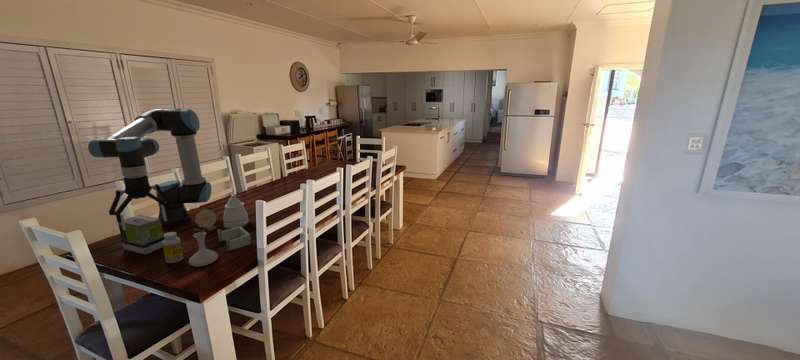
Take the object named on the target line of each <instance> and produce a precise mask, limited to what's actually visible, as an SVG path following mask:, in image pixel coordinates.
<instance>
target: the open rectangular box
mask: <svg viewBox="0 0 800 360" xmlns="http://www.w3.org/2000/svg"><path fill="white" fill-rule="evenodd" d="M217 235H218V236H217V237H218V241H219V242H224V241H225V245H226V250H227V252H229V251H232V250H237V249H239V248H240V249H241V248H243V247H246V246H250V245H252V235H251V234H250V233H249V232H248V231H246V230H245V229H244V228H243V226H242V227H241V226H240V227H236V228H227V229H223V230H222V229H220V228H219V229H218V228H217Z"/></svg>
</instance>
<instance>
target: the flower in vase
mask: <svg viewBox="0 0 800 360" xmlns="http://www.w3.org/2000/svg"><path fill="white" fill-rule="evenodd" d="M217 218H218V217H217V214H215V212H214V211H213V210H211V209H203V210H200V211H199V212H198V213H196V215H195V221H194V222H195V223H196V225H198V227H201V228H203V229H202V230H201V229H198V231H199V232H195V233H194V234H192V236H193V237H194V238H195V239H196V241H197V245H198V250H197V251H196V252H195V253H194V254H193V255H192V256H190V258H189V261H188V264H189V266H192V267H204V266H207V265H211V264H212V263H214V262H216V261H217V260H218V258H219V254H218V253H217V252H216V251H214V250H212V249H208V248H207V247H206V244H205V237H206V236H207V232H205V229H206V230H207V231H213V230H214V229H216V228H217V226H215V225H214V224H216V220H217ZM192 230H194V231H197V229H195V228H192Z"/></svg>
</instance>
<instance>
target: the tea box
mask: <svg viewBox="0 0 800 360" xmlns="http://www.w3.org/2000/svg"><path fill="white" fill-rule="evenodd" d="M123 219H124V218H123ZM124 223H125V227H126V230H123V227H122V223H118V222H117V224H118V229H119V233H120V239H121V242H122V246H123V250H126V251H129V252H133V253H138V254H142V255H148V254H150V253H152V252H155V251H157V250H160V249H161V248H163V245H162V242H163V240H165V238H164V231H163V225H161V220H160V219H159V218H158V217H153V216H149V215H143V214H138V215H135V216H131V217H128V218H125V219H124Z"/></svg>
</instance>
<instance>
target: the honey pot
mask: <svg viewBox="0 0 800 360" xmlns="http://www.w3.org/2000/svg"><path fill="white" fill-rule="evenodd" d="M244 206H245V203H244V202H243V201H241V200H240V198H238V197H237V195H236V194H230V197H229V199H228V200H227V202H226V204H225V205H224V211H223V212H224V213H223V214H222V219H223V227H224V228H226V229H232V228H236V227H240V226H241V227H242V228H243V227H245V226H247V225H248V224H249V223H248V222H250V221H249V220H250V219H249V214H248V212H247V210H246V208H245V207H244ZM247 223H248V224H247ZM246 224H247V225H246ZM244 225H245V226H244Z"/></svg>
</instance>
